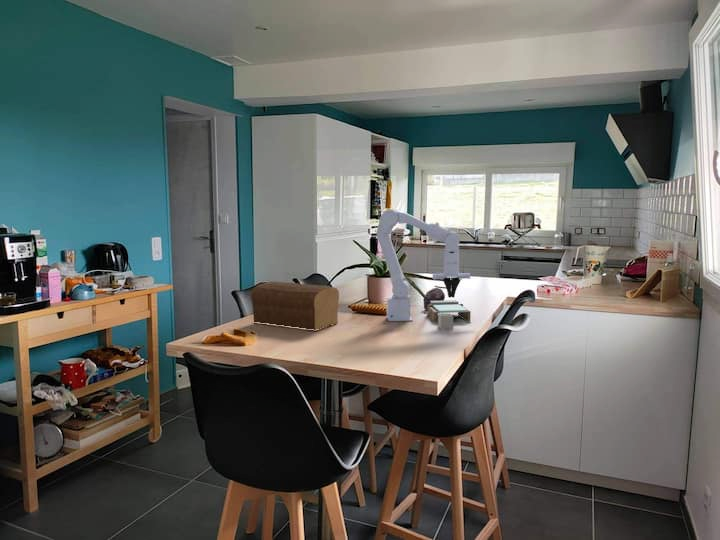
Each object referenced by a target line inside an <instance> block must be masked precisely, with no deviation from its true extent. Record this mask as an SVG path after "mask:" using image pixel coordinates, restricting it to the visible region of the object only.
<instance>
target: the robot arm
mask: <svg viewBox="0 0 720 540" xmlns="http://www.w3.org/2000/svg"><path fill="white" fill-rule="evenodd" d="M397 224H398V225H399V224H400V225H401V224H406V225H410V226H412V227H414V228H416V229H419V230H422V231H423V232H425V235H426V237H428V238H431V239H433V240H434V241H437V242H440V243H444V244H445V245H444V253H443V258H444V259H443V261H444V262H443V273H432V279H433V280H442V281H443V283H444V286H445V288H446V293H447V297H448V298H455V296H456V291H457V288H458V286H459V284H460V283H461V279H464V280H465V279H468V280H469V279H470V280H471V273H468V272H466V273H465V272H464V273H463V272H460V250H459V249H460V242H461V241H460V236H459V235H460V234H458V233H457V232H455V230H451V228H449V227H448V228H446V227H444V226H442V225H440V223H439V222H436V223H435V222H431V223H427V222H426V221H423V220H421V219H419V218H417V217H415V216H413V215H411V214H409V213H406V212H404V211H400V210H397V209H394V208H388V209H386V210H384V211H383V212H382V214H381V215H380V217H379V221H378V225H377V229H376V233H375V234H376V237H377V240H378V243H379V247H380V249H381V251H382V255H383V257H384V260H385V264H386V266H387V269H388V272H389V275H390V281H391V284H392V288H391V291H392V295H391V297H387V299H386V319H387V320H388V322H412V321H414V320H413V318H412V317H411V295H410V294H409V291H410V289H411V285H410V282H409V281H408V279H406V277H405V275H404V273H403V271H402V268H401V265H400V262H399V260H398V257H397V253H396V250H395V247H394V245H393V242H392V238H391V235H390V234H391V232H392V230H393V228H394V227H396V225H397Z"/></svg>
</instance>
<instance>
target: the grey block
mask: <svg viewBox="0 0 720 540" xmlns="http://www.w3.org/2000/svg"><path fill="white" fill-rule="evenodd" d="M437 324H438V325H437V327H438V328H439V329H440V330H441V329H447V330H454V315H453V314H451V313H438V322H437Z"/></svg>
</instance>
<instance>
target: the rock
mask: <svg viewBox="0 0 720 540" xmlns="http://www.w3.org/2000/svg"><path fill="white" fill-rule="evenodd" d="M445 296H446V295H445V292H444V291H443V289H441V288H439V287H433V288H431V289H429V290H428V291H427V292H426V293H425V295H424V297H423V299H422V300H423V309H424V310H426V311H427V306H428V305H430V301H445V298H446V297H445ZM425 297H426V298H427V299H428V300H427V299H426V298H425ZM433 309H434V308H433Z"/></svg>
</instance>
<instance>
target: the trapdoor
mask: <svg viewBox="0 0 720 540" xmlns="http://www.w3.org/2000/svg"><path fill="white" fill-rule="evenodd" d="M452 304H453V305H452ZM459 304H460V303H459V301H457V300H456V299H454V300H453V299H452V300H449V299H448V300H444V301H430V305H433V306H432V308H434V309H435V310H436V311H437V312H438V314H451V313H458V312H467V310H466V309H467V308H466V307H465V306H463V307H462V306H461V305H459ZM464 307H465V308H466V309H465V308H464Z"/></svg>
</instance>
